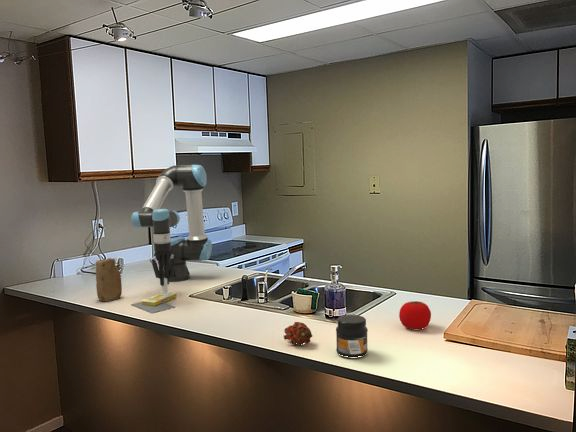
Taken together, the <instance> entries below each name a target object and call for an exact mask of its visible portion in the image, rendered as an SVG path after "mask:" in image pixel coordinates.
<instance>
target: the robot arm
mask: <svg viewBox="0 0 576 432" xmlns="http://www.w3.org/2000/svg"><path fill="white" fill-rule="evenodd" d="M207 180H208V178H207V172H206V170H205V168H204V166H202V165H201V164H181V165H180V164H179V165H178V164H176V165H172V166H170V167H167V168H166V169H164V170H163V171H162V172H160V174H159V175H158V177H157V178H156V179H155V185H154V187H153V189H152V190H151V193H150V194H149V196H148V198H147V199H146V200H145V202H144V204H143V206H142V208H141V209H140V211H134V212H132V215H131V217H130V218H131V224H132V226H133V227H134V228H152V229H153V230H152V231H153V243H154V244H153V248H154V249H153V250H154V254H153V257H152V258H150V259H149V262H150V263H151V265H152V269H153V272H154V276H155V278H156V279H159V285H160V286H161V293H163V292H164V293H169V288H168V286H169V284H170V282H182V281H186V280H189V279H190V278H191V275H190V271H189V268H188V266H187V261H190V262H191V261H195V262H197V261H198V262H202V261H208V260H209V259H210V257H211V256H212V255H211V254H212V250H213V249H212V248H213V243H212V240H210V239H209V237H208V235H207V234H206V232H205V223H204V208H203V198H202V197H203V195H202V191H204V189H205V188H204V187H205V186H206V185H207V184H208V183H207ZM176 187H181V189H182V192H184V193H185V203H186V214H187V224H188V225H187V226H188V236H187V237H186V238H185V237H184V236H183V237H182V236H181V237H174V238H171V228H172V227H175V226H177V225H178V224H179V223H180V219H181V217H180V214H179V212H177V211H176V210H169V209H167V208H161V206H162V205H163V203H164V201H165V200H166V197H167V196H168V194H169V192H170V191H172V190H173V189H174V188H176Z"/></svg>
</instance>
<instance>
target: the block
mask: <svg viewBox="0 0 576 432" xmlns="http://www.w3.org/2000/svg"><path fill="white" fill-rule="evenodd" d="M95 280H96V286H95V287H96V288H95V289H96V294H97V299H98V300H99V301H100V302H112V301H115V300H119V299H120V298H121V297H122V293H123V290H122V289H123V287H122V276H121V272H120V270H119V268H118V266H116V260H115V258H104V259H100V260H97V261H95Z"/></svg>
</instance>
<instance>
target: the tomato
mask: <svg viewBox="0 0 576 432" xmlns="http://www.w3.org/2000/svg"><path fill="white" fill-rule="evenodd" d="M398 314H399V315H398V318H399V321H400V323H401V325H402V326H403V327H405V328H406V327H407V329H409V328H411V329H410V330H412V329H421V330H423V329H422V328H424V329H426V328H427V327H428V326H429V323H430V322H431V318H432V311H431V309H430V307H429V306H428V304H426V303H425V302H423V301H415V300H413V301H411V300H409V301H407V302H406V303H405V302H404V304H402V305H401V307H400V309H399V312H398ZM425 327H426V328H425Z"/></svg>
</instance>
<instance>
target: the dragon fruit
mask: <svg viewBox="0 0 576 432" xmlns="http://www.w3.org/2000/svg"><path fill="white" fill-rule="evenodd" d="M283 331H284V334H283V339H284V340H285V341H286V340H288V341H290V344H291V345H292V344H295V345H298V344H300V345H299V346H302V345H301V344H303V343H305V344H309V343H310V342H311V338H313V334H312V331H311V329H310V328H309V327H308V326H307V325H306V324H305V323H304V322H300V321H294V323H293V324H291V325H288V326H287V327H285V329H284V330H283ZM296 343H297V344H296Z"/></svg>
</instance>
